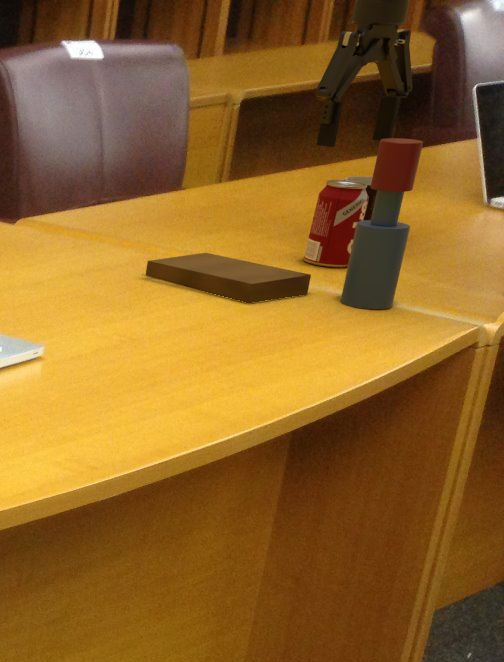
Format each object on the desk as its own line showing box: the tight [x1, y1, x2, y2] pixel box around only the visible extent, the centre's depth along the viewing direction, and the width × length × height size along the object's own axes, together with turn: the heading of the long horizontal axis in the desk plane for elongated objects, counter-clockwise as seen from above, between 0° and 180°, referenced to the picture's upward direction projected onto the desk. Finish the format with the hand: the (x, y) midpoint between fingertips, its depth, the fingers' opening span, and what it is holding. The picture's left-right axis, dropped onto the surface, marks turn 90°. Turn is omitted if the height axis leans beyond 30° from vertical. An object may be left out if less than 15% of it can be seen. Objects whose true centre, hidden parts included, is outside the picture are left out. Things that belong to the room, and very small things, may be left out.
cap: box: [371, 137, 424, 193], centre depth 198 cm, size 5×5×6 cm
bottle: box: [339, 190, 411, 310], centre depth 203 cm, size 6×6×15 cm
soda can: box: [303, 179, 369, 269], centre depth 226 cm, size 7×7×12 cm
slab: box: [145, 252, 312, 304], centre depth 214 cm, size 18×12×3 cm, turn 30°
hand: (353, 143), depth 241 cm, fingers open, 13 cm apart
